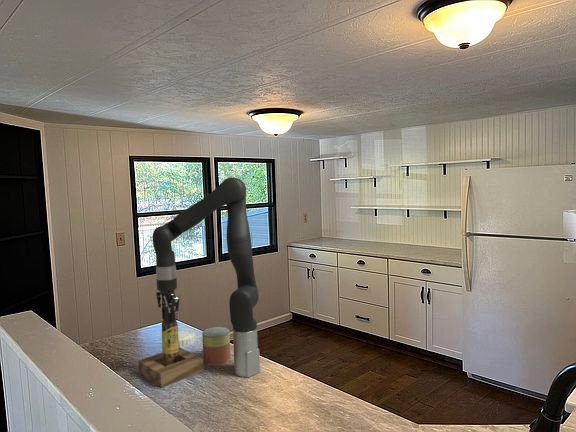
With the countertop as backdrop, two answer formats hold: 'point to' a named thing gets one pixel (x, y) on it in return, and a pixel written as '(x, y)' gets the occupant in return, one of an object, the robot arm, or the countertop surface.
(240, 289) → the robot arm
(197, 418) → the countertop surface
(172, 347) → the sauce bottle
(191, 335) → the cream scalloped thick disc
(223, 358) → the canned food
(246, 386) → the countertop surface
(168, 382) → the square wooden frame
